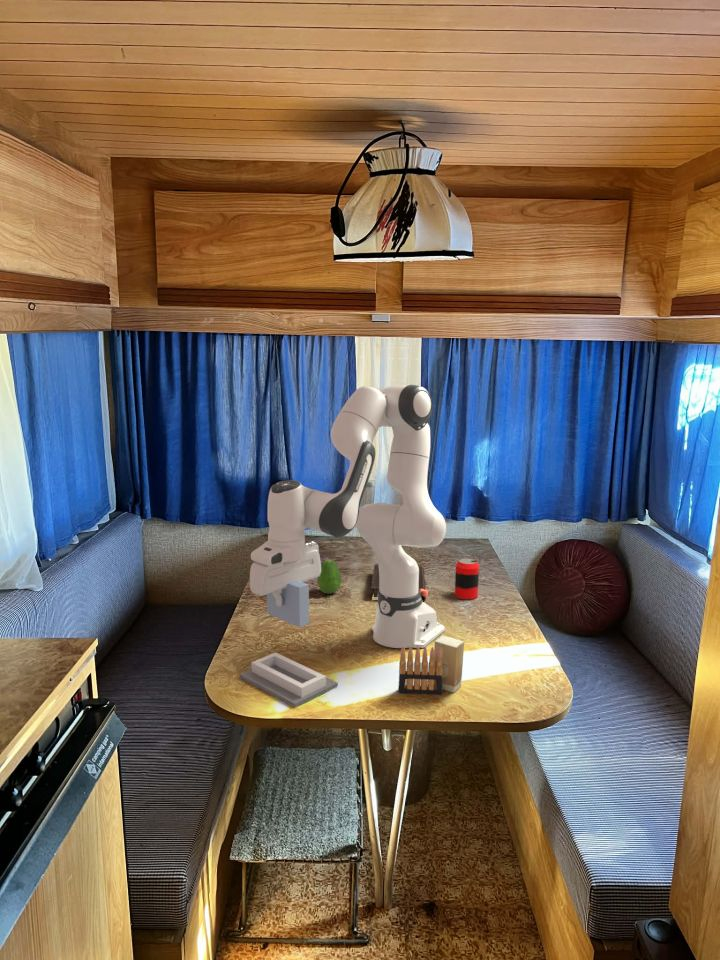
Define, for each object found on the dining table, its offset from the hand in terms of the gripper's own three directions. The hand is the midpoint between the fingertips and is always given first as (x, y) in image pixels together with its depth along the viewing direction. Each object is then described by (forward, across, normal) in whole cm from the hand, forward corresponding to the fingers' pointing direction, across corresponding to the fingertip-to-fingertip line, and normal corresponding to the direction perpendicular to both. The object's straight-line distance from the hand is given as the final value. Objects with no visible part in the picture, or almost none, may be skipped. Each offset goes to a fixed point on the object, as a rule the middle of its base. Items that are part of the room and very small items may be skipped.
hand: (287, 602), depth 177 cm
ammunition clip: (+21, -19, +27) cm, 39 cm away
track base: (+21, 0, 0) cm, 21 cm away
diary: (+22, -70, -23) cm, 77 cm away
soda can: (+21, -80, -2) cm, 83 cm away
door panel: (+4, 0, 0) cm, 4 cm away
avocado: (+21, -50, -36) cm, 65 cm away
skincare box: (+21, -26, +30) cm, 45 cm away
